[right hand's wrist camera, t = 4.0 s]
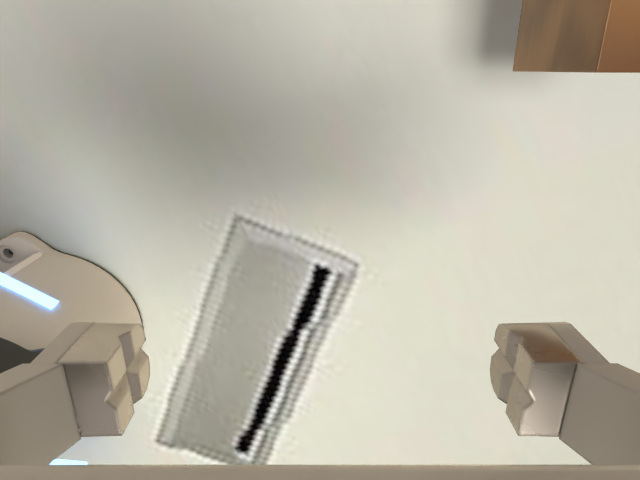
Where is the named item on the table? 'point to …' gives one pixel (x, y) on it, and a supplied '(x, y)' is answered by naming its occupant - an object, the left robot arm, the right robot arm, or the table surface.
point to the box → (578, 36)
